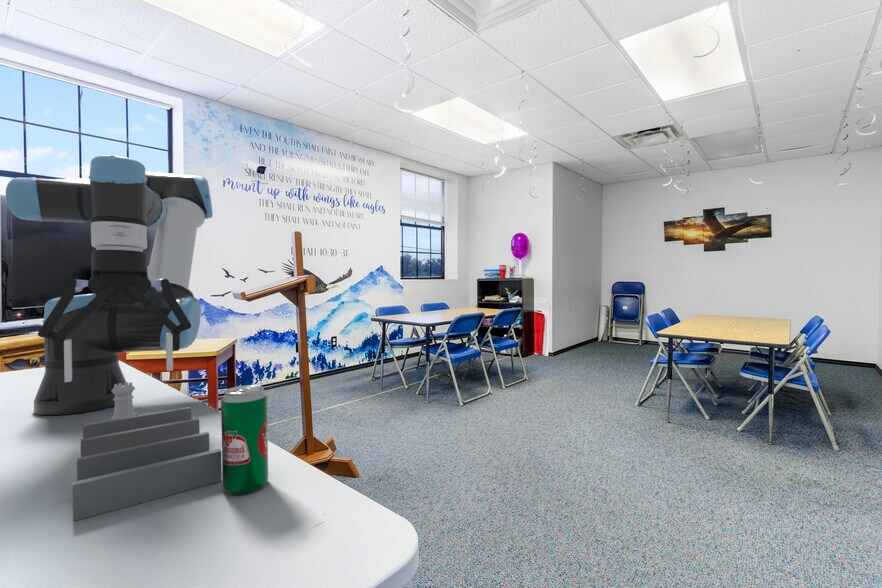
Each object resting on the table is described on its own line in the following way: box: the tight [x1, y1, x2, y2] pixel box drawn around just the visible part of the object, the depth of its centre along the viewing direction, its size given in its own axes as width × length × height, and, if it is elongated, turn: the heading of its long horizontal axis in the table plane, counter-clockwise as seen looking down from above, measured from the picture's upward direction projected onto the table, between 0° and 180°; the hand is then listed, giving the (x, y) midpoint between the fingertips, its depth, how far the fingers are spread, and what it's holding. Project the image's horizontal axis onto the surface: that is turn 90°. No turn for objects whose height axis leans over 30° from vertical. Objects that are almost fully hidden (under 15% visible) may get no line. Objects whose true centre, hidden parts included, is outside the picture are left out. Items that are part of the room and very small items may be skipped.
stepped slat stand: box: [71, 406, 223, 522], centre depth 57 cm, size 25×14×4 cm, turn 39°
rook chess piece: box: [110, 381, 137, 420], centre depth 71 cm, size 4×4×8 cm
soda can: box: [220, 384, 269, 496], centre depth 50 cm, size 5×5×12 cm
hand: (122, 375), depth 70 cm, fingers open, 13 cm apart
